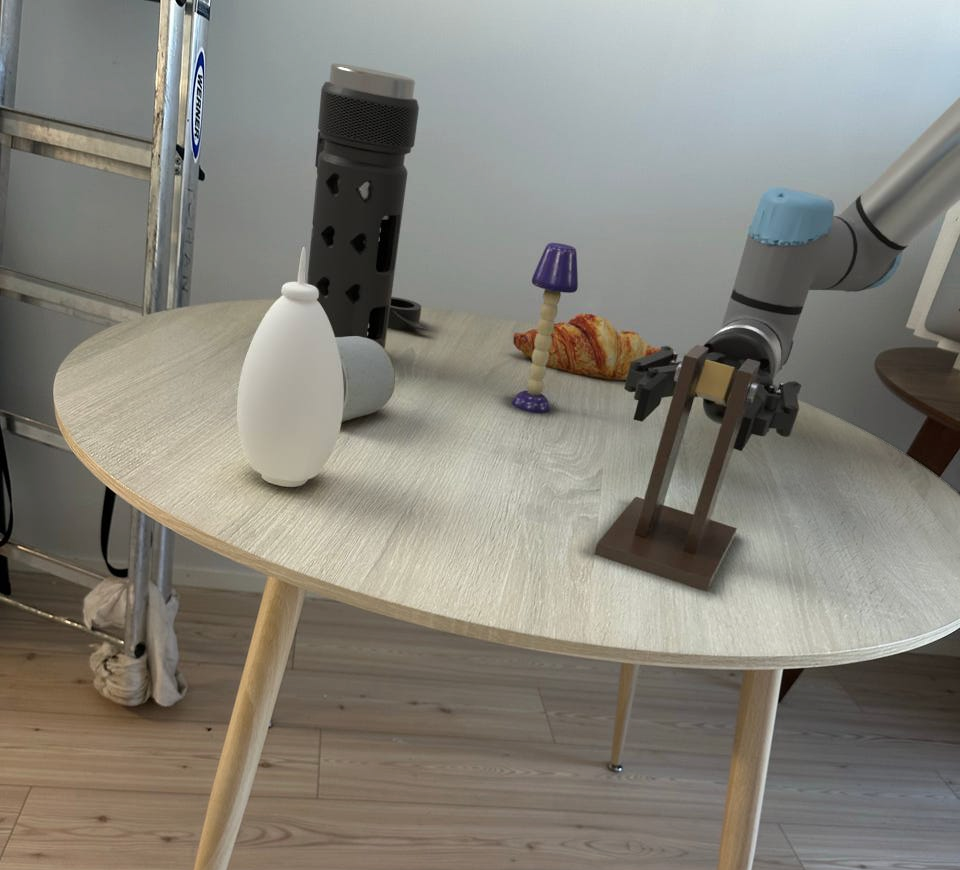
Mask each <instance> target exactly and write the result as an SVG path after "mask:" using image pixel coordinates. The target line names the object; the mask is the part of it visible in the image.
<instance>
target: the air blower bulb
mask: <svg viewBox="0 0 960 870" xmlns="http://www.w3.org/2000/svg"><path fill="white" fill-rule="evenodd" d="M300 253H301V254H300V258H299V259H300V260H299V264H298V265H299V267H298V273H297V281H288V282H285V283H284V284H283V285H282V287H281V296H280V297H279V298H278V299H277V300H275V302H274V303H273V304H272V305H271V306H270V307H269V309H268V310H267V311H266V313H265V315H264V316H263V318H262V320H261V321H260V323H259V325H258V326H257V329H256V330H255V333H254V336H253V338H252V340H251V342H250V345H249V347H248V350H247V351H246V352H247V353H246V355H245V359H244V361H243V365H242V368H241V372H240V377H239V383H238V388H237V396H236V397H237V399H236V418H237V419H236V421H237V422H236V423H237V430H238V434H239V440H240V443H241V446H242V449H243V452H244V455H245V457H246V459H247V461H248V463H249V466H250V467H251V468H252V469H253V470H254V471H255V472H256V473H259V475H260V474H261V478H262V479H263V480H264V481H265V482H267V483H269V484H271V485H275V486H279V487H285V488H296V487H301V486H303V485H305V484H306V483H307V482H308V480H311V479H313V478H315V477H316V476H317V475H319V474H320V472H321V471H322V470H323V468H324V467H325V466H326V464H327V462H328V461H329V459H330V457H331V455H332V454H333V452H334V449H335V447H336V444H337V442H338V439H339V436H340V432H341V428H342V427H341V426H342V422H341V421H342V414H343V402H344V385H343V373H342V366H341V360H340V355H339V350H338V346H337V342H336V339H335V336H334V332H333V330H332V327H331V324H330V322H329V320H328V317H327V315H326V313H325V311H324V309H323V308H322V306H321V305H320V303H319V302H318V301H317V300H316V299H318V297H319V291H318V289H317V288H316V287H315V286H312V285H310V284H307V282H306V266H307V264H306V263H307V262H306V261H307V259H306V258H307V257H306V254H307V253H306V248H305V247H304V246H303V247H302V249H301V252H300Z"/></svg>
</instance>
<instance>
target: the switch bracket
mask: <svg viewBox="0 0 960 870" xmlns="http://www.w3.org/2000/svg"><path fill="white" fill-rule="evenodd" d="M707 352H708V348H707V347H703V345H700V344H695V345H694V346H693V347H692V348H691V349H689V351H688V352H686V353H685V354H684V355H683V358H682V359H683V361H682V363H681V362H680V363H679V365H678V367H677V370H676V373H675V377H674V381H676V382H677V383H676V387H675V390H674V394H673V396H671V402H670V405H669V408H668V411H667V416H666V419H665V423H664V426H663V430H662V434H661V437H660V440H659V445H658V448H657V452H656V455H655V459H654V463H653V466H652V470H651V473H650V477H649V480H648V483H647V488H646V491H645V494H644V498H642V497H639V496H634V498H633V499H632V500H631V502H630V503H629V504H628V505H627V507H626V508H625V509H624V510H623V511H622V512H621V514H620V515H619V516H618V517H617V519H616V520H615V521H614V522H613V523H612V525H611V526H610V527H609V528H608V529H607V530H606V532H605V533H604V534H603V535H602V537H601V538H600V539H599V540H598V541H597V543H596V546H595V549H594V553H593V554H594V556H597V557H601V558H604V559H607V560H610V561H613V562H616V563H618V564H622V565H625V566H628V567H631V568H634V569H637V570H640V571H643V572H646V573H649V574H652V575H655V576H658V577H661V578H664V579H667V580H670V581H673V582H676V583H679V584H682V585H685V586H688V587H691V588H694V589H696V590H700V591H703V592H705V593H706V592H708V591H709V589H710V587H711V584H712V583H713V581H714V578H715V576H716V575H717V573H718V570H719V569H720V567H721V564H722V563H723V561H724V559H725V557H726V555H727V553H728V550H729V549H730V547H731V545H732V543H733V541H734V539H735V536H736V532H737V530H738V528H737V527H734V526H732V525H728V524H724V523H721V522H719V521H715V520H712V517H713V514H714V510H715V507H716V505H717V501H718V497H719V496H720V492H721V490H722V489H721V488H722V486H723V482H724V479H725V476H726V472H727V470H728V467H729V463H730V461H731V456H732V455H733V451H734V449H733V448H734V445H735V441H736V438H737V435H738V432H739V429H740V426H741V423H742V419H743V416H744V413H745V410H746V407H747V404H748V402H751V403H752V402H753V401H754V398H755V395H756V392H757V389H758V384H757V383H754V382H755V378H756V375H757V372H758V369H759V366H760V362H759V361H755V360H751V359H747V360H746V362H745V363H744V364H743V365H742V366H741V368H740V369H739V370H738V372H737V375H736V379H735V382H734V385H733V388H732V392H731V395H730V398H729V401H728V405H727V408H726V411H725V414H724V418H723V421H722V424H720V428H719V431H718V435H717V437H716V440H715V443H714V447H713V451H712V454H711V457H710V460H709V464H708V467H707V469H706V473H705V477H704V480H703V483H702V486H701V489H700V493H699V496H698V499H697V503H696V506H695V509H694V511H693V514H692V513H689V512H687V511H683V510H680V509H678V508H674V507H670V506H667V505H664V504H665V501H666V497H667V493H668V490H669V487H670V483H671V479H672V476H673V473H674V469H675V466H676V462H677V460H678V455H679V452H680V449H681V445H682V443H683V438H684V435H685V432H686V428H687V424H688V421H689V418H690V414H691V412H692V407H693V404H694V400H695V398H696V397H695V394H696V392H695V390H696V387H697V384H698V381H699V378H700V375H701V372H702V369H703V366H704V363H705V359H706V356H707Z"/></svg>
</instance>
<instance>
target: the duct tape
mask: <svg viewBox="0 0 960 870" xmlns="http://www.w3.org/2000/svg"><path fill="white" fill-rule="evenodd" d="M421 314H422V305H421V304H420V303H418V302H415V301H414V300H410V299H407V298H401V297H396V296H391V304H390V312H389V319H388V327H387V329H391V330H397V331H407V332H408V331H409V332H410V331H416V330H418V329H419V330H422V331H427V328H425V327H423V326H421V324H420V320H421Z"/></svg>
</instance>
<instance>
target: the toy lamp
mask: <svg viewBox="0 0 960 870" xmlns="http://www.w3.org/2000/svg"><path fill="white" fill-rule="evenodd" d="M577 253H578V252H577V249H576V247H574V246H572V245H568V244H564V243H560V242H549V243H548V244H546V246H545V248H544V250H543V252H542V255H541V256H540V259H539V260H538V263H537V265H536V268H535V271H534V273H533V275H532V278H531V284H532V285H533V286H535V287H537V288H540V289H543V290H544V291H543V296H542V299H543V300H542V301H543V303H542V304H541V306H540V309H539V310H540V312H539V313H540V314H539V315H540V318H539V320H538V323H537V326H536V327H537V328H536V329H537V330H538V334H537V335H536V337H535V343H534V344H535V349H534V351H533V354H532V358H531V361H532V363H531V365H530V367H529V378H528V381H527V384H526V390H523V391H520V392H518V393H517V394H516V395H515V396H514V397H513V398H512V400H511V405H512V406H513V407H514V408H516V409H518V410H521V411H523V412H526V413H527V412H528V413H532V414H547V413H549V412H550V411H551V405H550V402H549V399H548V398H547V397H546V396H545V395H544V394H543V393H542V392H543V389H544V379H545V377H546V374H547V366H546V364H547V362H548V359H549V352H548V350H549V348H550V346H551V341H552V339H551V334H552V333H553V330H554V324H555V319H556V317H557V315H558V304H559V303H560V300H561V295H562V293H567V294H571V293H572V294H573V293H576V292H577V291H578V287H579V280H578V275H579V274H578V273H579V272H578V254H577Z"/></svg>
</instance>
